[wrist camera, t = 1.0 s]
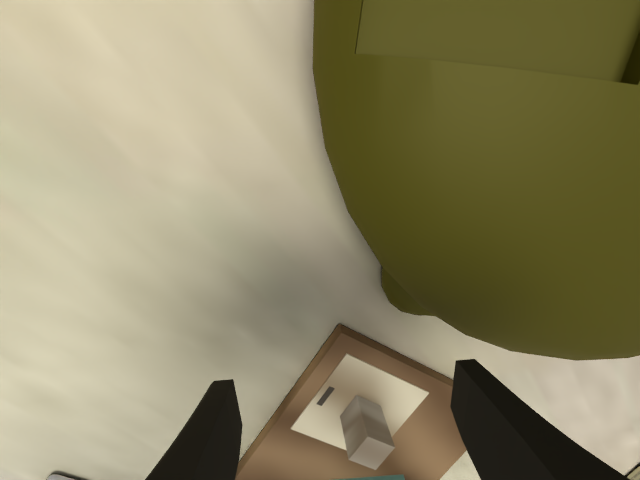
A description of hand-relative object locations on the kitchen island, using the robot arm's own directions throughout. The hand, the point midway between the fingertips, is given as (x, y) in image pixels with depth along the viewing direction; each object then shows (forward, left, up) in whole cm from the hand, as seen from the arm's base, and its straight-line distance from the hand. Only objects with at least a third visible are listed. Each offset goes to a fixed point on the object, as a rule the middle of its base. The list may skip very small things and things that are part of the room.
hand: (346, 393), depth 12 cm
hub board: (-11, -10, -10) cm, 18 cm away
